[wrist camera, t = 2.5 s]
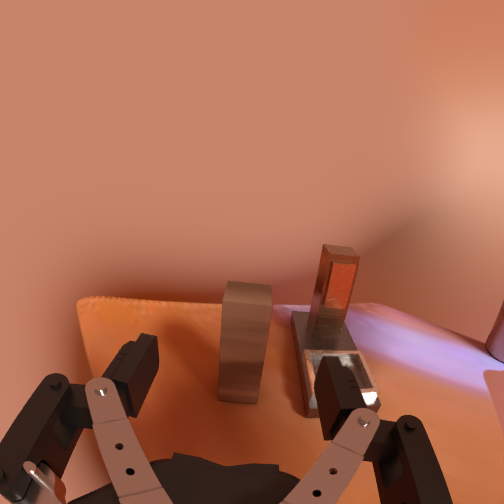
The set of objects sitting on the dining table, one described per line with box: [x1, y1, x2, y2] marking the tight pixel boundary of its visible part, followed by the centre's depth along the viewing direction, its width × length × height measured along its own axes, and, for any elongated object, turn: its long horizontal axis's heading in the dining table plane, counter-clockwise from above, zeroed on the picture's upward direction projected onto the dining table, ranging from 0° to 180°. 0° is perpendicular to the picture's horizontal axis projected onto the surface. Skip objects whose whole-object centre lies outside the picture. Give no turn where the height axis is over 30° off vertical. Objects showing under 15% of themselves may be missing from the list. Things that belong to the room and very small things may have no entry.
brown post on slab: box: [291, 244, 381, 418], centre depth 31 cm, size 20×8×14 cm, turn 178°
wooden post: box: [218, 281, 273, 404], centre depth 26 cm, size 4×4×12 cm
